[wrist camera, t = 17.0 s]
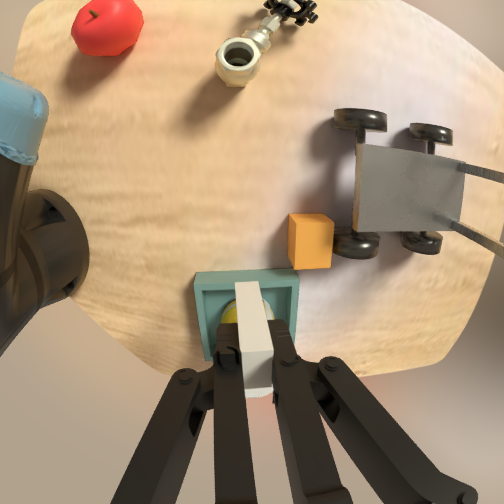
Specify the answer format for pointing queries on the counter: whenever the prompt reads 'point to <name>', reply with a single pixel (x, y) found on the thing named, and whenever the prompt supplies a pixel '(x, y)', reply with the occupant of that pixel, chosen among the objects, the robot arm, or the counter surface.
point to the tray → (223, 290)
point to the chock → (310, 240)
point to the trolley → (405, 190)
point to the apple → (107, 27)
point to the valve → (258, 41)
